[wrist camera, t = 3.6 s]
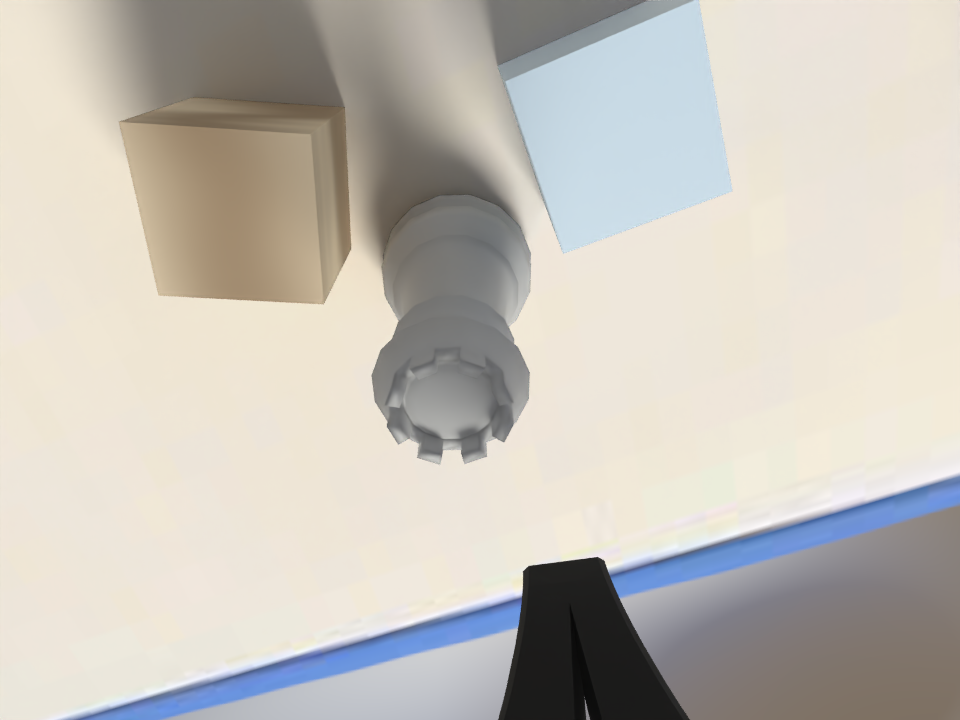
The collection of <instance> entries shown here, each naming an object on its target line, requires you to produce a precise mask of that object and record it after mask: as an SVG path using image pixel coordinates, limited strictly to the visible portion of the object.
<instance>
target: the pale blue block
mask: <svg viewBox="0 0 960 720" xmlns="http://www.w3.org/2000/svg"><path fill="white" fill-rule="evenodd" d="M498 69H499V72H500V74H501V77H502V80H503V83H504V86H505V89H506V92H507V95H508V98H509V101H510V104H511V107H512V110H513V113H514V116H515V119H516V121H517V124H518V127H519V130H520V133H521V136H522V139H523V142H524V145H525V148H526V151H527V154H528V157H529V160H530V163H531V166H532V168H533V171H534V174H535V177H536V180H537V183H538V186H539V189H540V192H541V195H542V198H543V201H544V204H545V207H546V209H547V212H548V215H549V217H550V220H551V223H552V225H553V228H554V231H555V233H556V236H557V239H558V241H559V244H560V246H561V249H562V252H563V254H564V253H566V252H569V251H572V250H575V249H577V248H580V247H583V246H585V245H588V244H591V243H594V242H596V241H599V240H602V239H604V238H607V237H610V236H613V235H615V234H618V233H621V232H623V231H626V230H629V229H631V228H634V227H637V226H640V225H642V224H645V223H648V222H650V221H653V220H656V219H659V218H661V217H664V216H667V215H669V214H672V213H675V212H677V211H680V210H683V209H686V208H688V207H691V206H694V205H696V204H699V203H702V202H705V201H707V200H710V199H713V198H715V197H718V196H721V195H723V194H726V193H729V192H732V186H731V180H730V174H729V169H728V163H727V157H726V152H725V146H724V140H723V135H722V129H721V123H720V118H719V112H718V106H717V101H716V95H715V89H714V84H713V78H712V72H711V67H710V61H709V55H708V50H707V44H706V38H705V33H704V27H703V21H702V16H701V10H700V4H699V0H649V1H645V2H643V3H640V4H638V5H636V6H634V7H631V8H629V9H627V10H624V11H622V12H620V13H617V14H615V15H613V16H611V17H608V18H606V19H604V20H601V21H599V22H597V23H595V24H592V25H590V26H588V27H585V28H583V29H581V30H578V31H576V32H574V33H572V34H569V35H567V36H565V37H562V38H560V39H558V40H555V41H553V42H551V43H549V44H546V45H544V46H542V47H539V48H537V49H535V50H533V51H530V52H528V53H526V54H523V55H521V56H519V57H516V58H514V59H512V60H510V61H507V62H505V63H503V64H500V65H498Z"/></svg>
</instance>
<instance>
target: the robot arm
mask: <svg viewBox="0 0 960 720" xmlns="http://www.w3.org/2000/svg"><path fill="white" fill-rule="evenodd" d="M584 696H585V698H584ZM585 700H586V704H587V709H588V713H589V717H590V720H690V719H689V718H688V716H687V715H686V713H685V712H684V710H683V709H682V708H681V706H680V704H679V703H678V701H677V700H676V698H675V696H674V695H673V693H672V692H671V690H670V689H669V687H668V685H667V684H666V682H665V680H664V679H663V677H662V675H661V674H660V672H659V670H658V669H657V667H656V665H655V664H654V662H653V660H652V659H651V657H650V655H649V654H648V652H647V650H646V648H645V647H644V645H643V643H642V641H641V639H640V638H639V636H638V634H637V632H636V630H635V628H634V627H633V625H632V623H631V621H630V619H629V617H628V615H627V613H626V611H625V609H624V607H623V605H622V603H621V601H620V599H619V597H618V594H617V592H616V590H615V588H614V585H613V583H612V580H611V578H610V575H609V573H608V570H607V567H606V564H605V561H604V560H602V559H600V558H598V557H594V558H587V559H579V560H571V561H564V562H556V563H548V564H540V565H533V566H528V567H527V568H526V569H525V570H524V571H523V593H522V605H521V613H520V620H519V627H518V633H517V639H516V645H515V650H514V655H513V659H512V664H511V669H510V674H509V678H508V683H507V688H506V692H505V696H504V700H503V704H502V708H501V711H500V715H499V719H498V720H586V712H585Z"/></svg>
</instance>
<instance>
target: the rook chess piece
mask: <svg viewBox="0 0 960 720" xmlns="http://www.w3.org/2000/svg"><path fill="white" fill-rule="evenodd" d="M383 259H384V262H383V265H382V274H383V284H384V293H385V297H386V299H387V301H388V303H389V305H390V306H391V308H392V310H393V312H394V313H395V315H396V317H397V319H398V320H399V322H398V324H397V327H396V330H395V333H394V335H393V338H392V340H391V341H389V342H388V343H387V344H386V345H385V346H384V347H383V348H382V349H381V351H380V354H379V356H378V359H377V362H376V365H375V368H374V370H373V373H372V383H373V390H374V398H375V403H376V404H377V406H378V407H379V409H380V410H381V412H382V414H383V415H384V417H385V418H386V420H387V421H388V423H387V427H388V429H389V431H390V432H391V434H392V435H393V437H394V438H395V440H396V442H397V443H398V445H399V444H400V443H402V442H404V441H406V440H407V439H411V440H412V441H414V442H417V443H419V448H418V456H417V458H419V459H423V460H426V461H430V462H433V463H436V464H441V458H442V452H443V450H461V454H462V457H463V461H464V464H466V463H469V462H472V461H475V460H478V459H481V458H484V457H487V447H486V442H488V441H491V440H494V439H496V438H497V439H498V440H500V441H502V442H505V440H506V438H507V436H508V434H509V432H510V430H511V428H512V426H513V424H514V423H515V422H517V420H518V418H519V416H520V414H521V412H522V410H523V409H524V407H525V405H526V403H527V401H528V399H529V375H530V372H529V370H528V368H527V366H526V364H525V361H524V359H523V357H522V355H521V353H520V351H519V348H518V347H517V346H516V345H515V344H514V338H513V336H512V334H511V331H510V329H509V326H510V325H511V324H512V323H514V322H515V321H516V320H517V318H518V316H519V314H520V312H521V310H522V307H523V305H524V303H525V301H526V299H527V297H528V295H529V293H530V278H531V263H530V259H531V252H530V250H529V247H528V245H527V243H526V240H525V238H524V235H523V233H522V230H521V228H520V226H519V225H518V224H517V223H516V222H515V221H514V220H513V219H512V218H511V217H510V216H509V215H508V214H506V213H505V212H504V211H503V210H502V209H501V208H500V207H499V206H498V205H495V204H493V203H490V202H487V201H485V200H482V199H480V198H477V197H475V196H472V195H439V196H437V197H434V198H432V199H430V200H428V201H425V202H423V203H421V204H419V205H416V206H414V207H412V208H411V209H410V210H409V211H408V212H407V213H406V214H405V215H404V216H403V218H402V219H401V220H400V221H399V222H398V223H397V224H396V225H395V226H394V227H393V228H392V230H391V233H390V236H389V239H388V243H387V246H386V249H385V252H384V255H383Z"/></svg>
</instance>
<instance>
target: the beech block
mask: <svg viewBox="0 0 960 720" xmlns="http://www.w3.org/2000/svg"><path fill="white" fill-rule="evenodd" d="M119 124H120V128H121V133H122V137H123V141H124V146H125V150H126V155H127V159H128V163H129V168H130V172H131V177H132V181H133V185H134V190H135V194H136V198H137V203H138V207H139V212H140V216H141V220H142V225H143V229H144V234H145V238H146V242H147V247H148V251H149V256H150V260H151V264H152V269H153V273H154V277H155V282H156V286H157V291H158V295H159V296H178V297H197V298H216V299H234V300H253V301H272V302H290V303H309V304H324V303H325V301H326V299H327V297H328V295H329V293H330V291H331V289H332V287H333V285H334V283H335V281H336V278H337V276H338V274H339V272H340V270H341V268H342V266H343V264H344V262H345V260H346V258H347V256H348V254H349V252H350V250H351V233H350V212H349V190H348V169H347V147H346V126H345V107H331V106H316V105H302V104H287V103H272V102H257V101H242V100H227V99H213V98H198V97H193V98H190V99H187V100H184V101H181V102H178V103H175V104H172V105H168V106H165V107H162V108H159V109H156V110H153V111H150V112H147V113H144V114H141V115H138V116H135V117H132V118H129V119H126V120H123V121H120V122H119Z"/></svg>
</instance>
